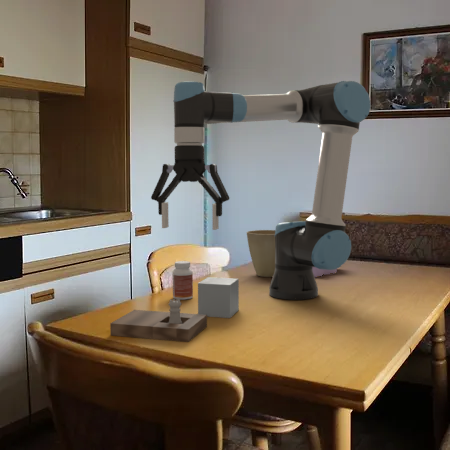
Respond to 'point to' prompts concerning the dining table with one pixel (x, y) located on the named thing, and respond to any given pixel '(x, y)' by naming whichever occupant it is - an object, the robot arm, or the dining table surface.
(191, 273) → the pill bottle
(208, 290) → the block
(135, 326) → the socket board
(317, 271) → the clip
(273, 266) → the plant pot
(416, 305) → the dining table surface
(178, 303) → the rook chess piece
